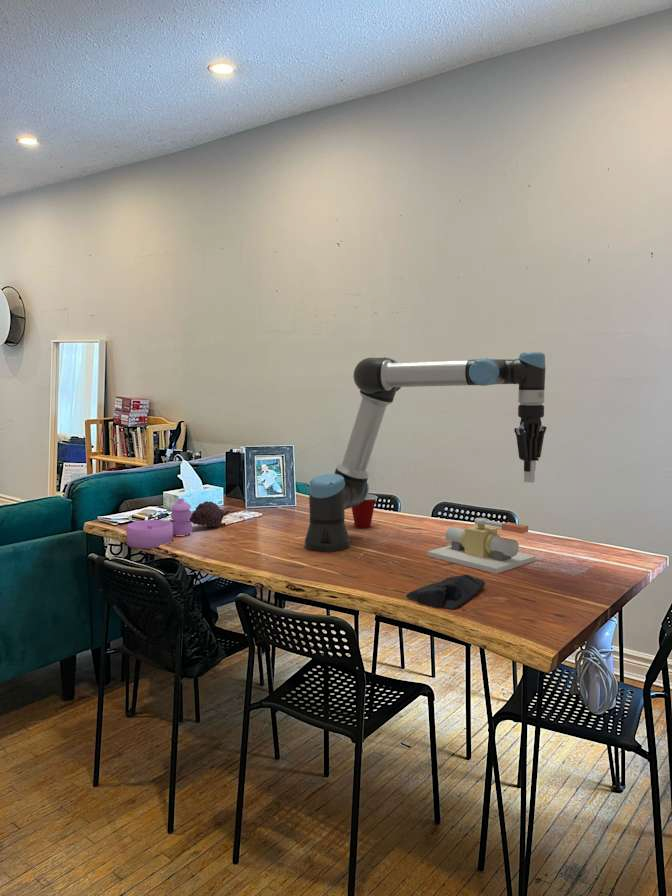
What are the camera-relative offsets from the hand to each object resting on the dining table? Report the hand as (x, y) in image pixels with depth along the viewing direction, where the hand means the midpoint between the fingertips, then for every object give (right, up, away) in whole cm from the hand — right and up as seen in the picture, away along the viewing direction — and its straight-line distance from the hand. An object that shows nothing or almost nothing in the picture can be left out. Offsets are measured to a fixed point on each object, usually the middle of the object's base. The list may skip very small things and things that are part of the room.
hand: (529, 481), depth 211 cm
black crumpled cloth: (-29, -29, -29) cm, 50 cm away
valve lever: (-9, -14, -1) cm, 17 cm away
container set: (-119, -22, +32) cm, 126 cm away
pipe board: (-14, -24, +5) cm, 28 cm away
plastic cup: (-48, -19, +50) cm, 72 cm away
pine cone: (-107, -20, +50) cm, 119 cm away
